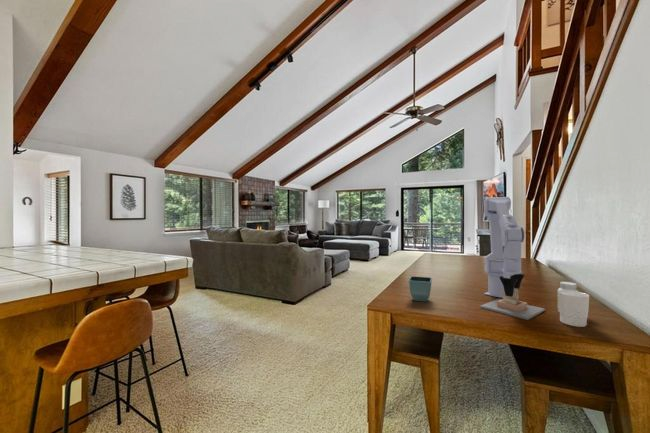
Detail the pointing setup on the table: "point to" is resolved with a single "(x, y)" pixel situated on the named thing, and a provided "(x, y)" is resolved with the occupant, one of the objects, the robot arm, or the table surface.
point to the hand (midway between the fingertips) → (512, 294)
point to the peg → (511, 299)
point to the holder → (513, 309)
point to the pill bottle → (566, 286)
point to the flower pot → (420, 288)
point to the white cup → (573, 307)
